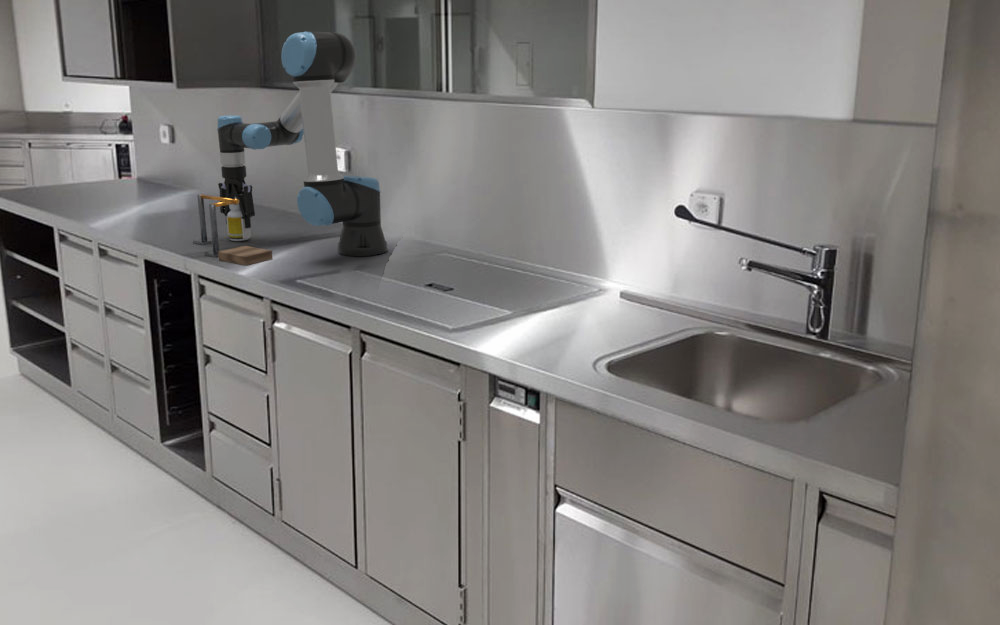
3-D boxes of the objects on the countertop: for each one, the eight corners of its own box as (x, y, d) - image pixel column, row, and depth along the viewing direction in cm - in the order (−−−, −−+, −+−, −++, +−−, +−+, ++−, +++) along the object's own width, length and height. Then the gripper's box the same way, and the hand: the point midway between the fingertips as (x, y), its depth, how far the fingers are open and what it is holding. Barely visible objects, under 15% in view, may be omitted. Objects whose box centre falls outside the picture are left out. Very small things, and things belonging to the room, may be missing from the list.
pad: (272, 258, 275) (271, 250, 275) (246, 265, 267) (245, 257, 267) (245, 253, 282) (244, 245, 281) (218, 259, 274) (218, 251, 273)
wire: (251, 248, 288) (247, 198, 283) (215, 257, 277) (210, 204, 272) (205, 240, 300) (201, 191, 295) (169, 248, 289) (164, 197, 284)
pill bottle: (244, 242, 297) (241, 206, 293) (225, 241, 298) (222, 205, 295) (253, 237, 303) (250, 202, 299) (235, 237, 304) (232, 202, 301)
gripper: (263, 166, 291) (268, 238, 298) (222, 161, 302) (228, 231, 308) (244, 168, 285) (250, 242, 292) (203, 164, 296) (210, 235, 302)
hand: (239, 236), depth 300 cm, fingers closed on pill bottle, 6 cm apart
